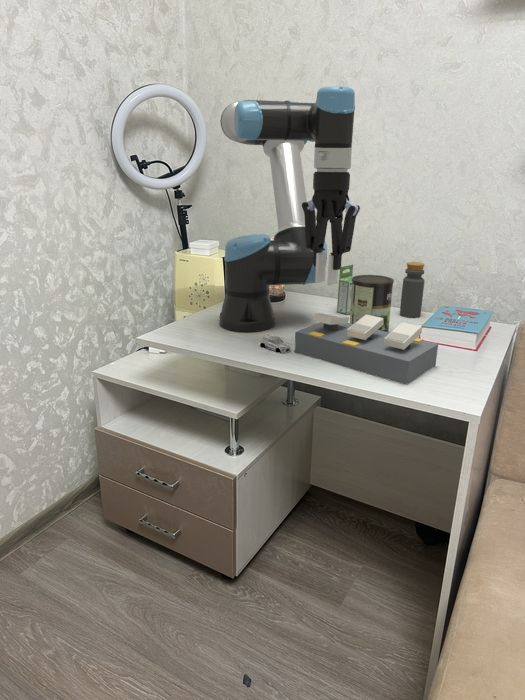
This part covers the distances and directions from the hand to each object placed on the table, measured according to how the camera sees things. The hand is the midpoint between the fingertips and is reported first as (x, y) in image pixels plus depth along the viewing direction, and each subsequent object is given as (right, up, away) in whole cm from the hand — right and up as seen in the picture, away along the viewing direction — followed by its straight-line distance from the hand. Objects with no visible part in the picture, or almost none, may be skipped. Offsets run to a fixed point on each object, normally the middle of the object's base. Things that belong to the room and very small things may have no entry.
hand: (326, 282), depth 116 cm
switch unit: (+9, -17, +2) cm, 19 cm away
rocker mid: (+9, -10, 0) cm, 13 cm away
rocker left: (+2, -8, +5) cm, 9 cm away
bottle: (+29, -5, +36) cm, 46 cm away
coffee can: (+14, -10, +21) cm, 27 cm away
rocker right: (+16, -12, -6) cm, 20 cm away
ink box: (+11, -4, +39) cm, 40 cm away
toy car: (-11, -15, +8) cm, 20 cm away
